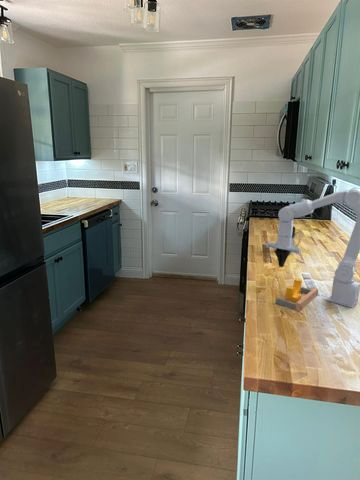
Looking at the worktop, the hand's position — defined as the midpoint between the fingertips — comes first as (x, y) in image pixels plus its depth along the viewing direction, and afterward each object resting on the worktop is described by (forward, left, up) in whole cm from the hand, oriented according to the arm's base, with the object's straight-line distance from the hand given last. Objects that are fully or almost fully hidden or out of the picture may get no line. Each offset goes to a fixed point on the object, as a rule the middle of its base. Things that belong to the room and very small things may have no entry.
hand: (281, 266), depth 143 cm
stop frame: (-11, +7, -9) cm, 16 cm away
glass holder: (+17, -50, -10) cm, 54 cm away
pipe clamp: (-10, +7, -10) cm, 16 cm away
